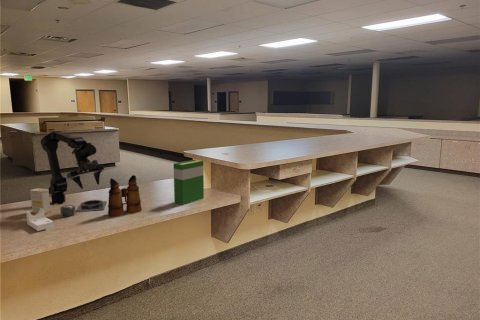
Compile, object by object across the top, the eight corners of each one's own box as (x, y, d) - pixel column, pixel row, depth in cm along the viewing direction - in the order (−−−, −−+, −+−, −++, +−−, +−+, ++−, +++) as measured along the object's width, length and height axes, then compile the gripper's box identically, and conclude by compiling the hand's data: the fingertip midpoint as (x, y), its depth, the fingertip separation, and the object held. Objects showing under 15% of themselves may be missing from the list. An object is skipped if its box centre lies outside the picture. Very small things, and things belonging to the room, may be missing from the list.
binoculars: (111, 218, 176) (108, 180, 173) (105, 214, 183) (103, 178, 179) (144, 211, 188) (142, 176, 185) (138, 207, 194) (136, 173, 191)
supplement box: (51, 212, 185) (49, 189, 183) (43, 215, 180) (41, 191, 178) (39, 210, 188) (37, 187, 185) (32, 213, 183) (29, 189, 181)
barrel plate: (76, 211, 186) (76, 207, 185) (81, 204, 199) (81, 200, 199) (103, 210, 189) (103, 205, 189) (106, 202, 202) (106, 198, 202)
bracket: (27, 226, 165) (26, 211, 164) (43, 222, 171) (41, 207, 169) (38, 232, 157) (36, 217, 156) (54, 228, 162) (52, 213, 161)
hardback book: (195, 196, 218) (194, 159, 214) (203, 198, 214) (203, 160, 209) (174, 202, 204) (173, 163, 200) (182, 204, 200) (182, 165, 196)
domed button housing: (60, 217, 177) (59, 208, 176) (62, 214, 182) (61, 205, 181) (74, 216, 178) (73, 207, 177) (76, 213, 184) (75, 204, 183)
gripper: (71, 159, 173) (80, 188, 173) (104, 153, 187) (112, 179, 187) (62, 164, 180) (71, 192, 180) (95, 157, 194) (103, 183, 194)
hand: (90, 186), depth 185 cm, fingers open, 9 cm apart
